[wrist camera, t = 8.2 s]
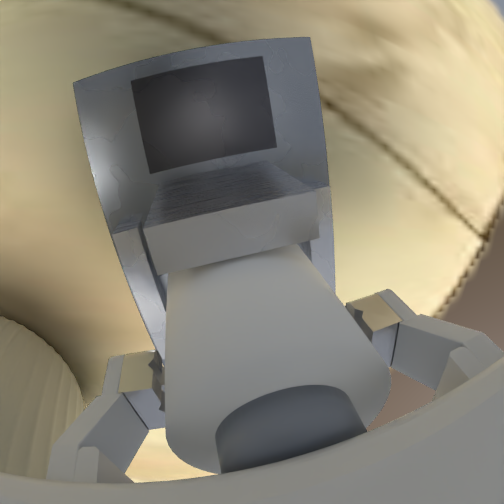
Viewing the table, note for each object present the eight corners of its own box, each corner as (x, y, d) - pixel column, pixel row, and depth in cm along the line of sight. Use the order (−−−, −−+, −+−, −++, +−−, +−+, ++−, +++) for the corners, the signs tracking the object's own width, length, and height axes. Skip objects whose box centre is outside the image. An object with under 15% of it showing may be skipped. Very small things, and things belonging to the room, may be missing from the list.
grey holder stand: (109, 92, 14) (4, 69, 4) (270, 59, 15) (381, 2, 5) (168, 308, 20) (168, 455, 11) (299, 277, 21) (378, 400, 12)
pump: (154, 216, 12) (118, 432, 4) (282, 188, 12) (440, 343, 4) (187, 319, 14) (208, 517, 6) (294, 293, 14) (388, 465, 6)
